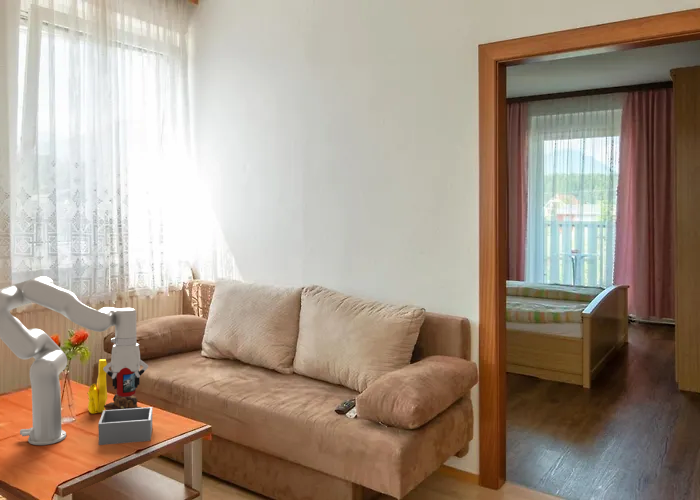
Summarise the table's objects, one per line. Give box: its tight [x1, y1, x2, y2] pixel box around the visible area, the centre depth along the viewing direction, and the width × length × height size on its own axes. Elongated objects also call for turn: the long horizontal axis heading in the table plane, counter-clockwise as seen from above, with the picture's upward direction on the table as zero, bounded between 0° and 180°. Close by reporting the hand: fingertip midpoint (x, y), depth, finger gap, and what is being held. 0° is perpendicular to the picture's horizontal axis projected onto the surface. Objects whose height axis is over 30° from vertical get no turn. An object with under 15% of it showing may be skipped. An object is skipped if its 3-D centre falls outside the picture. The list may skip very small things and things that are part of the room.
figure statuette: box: [86, 358, 108, 414], centre depth 247 cm, size 18×8×22 cm, turn 33°
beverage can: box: [116, 368, 137, 397], centre depth 222 cm, size 7×7×12 cm
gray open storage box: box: [97, 406, 153, 446], centre depth 224 cm, size 18×14×8 cm
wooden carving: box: [104, 393, 143, 410], centre depth 241 cm, size 16×5×10 cm, turn 81°
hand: (126, 387), depth 222 cm, fingers closed on beverage can, 6 cm apart
